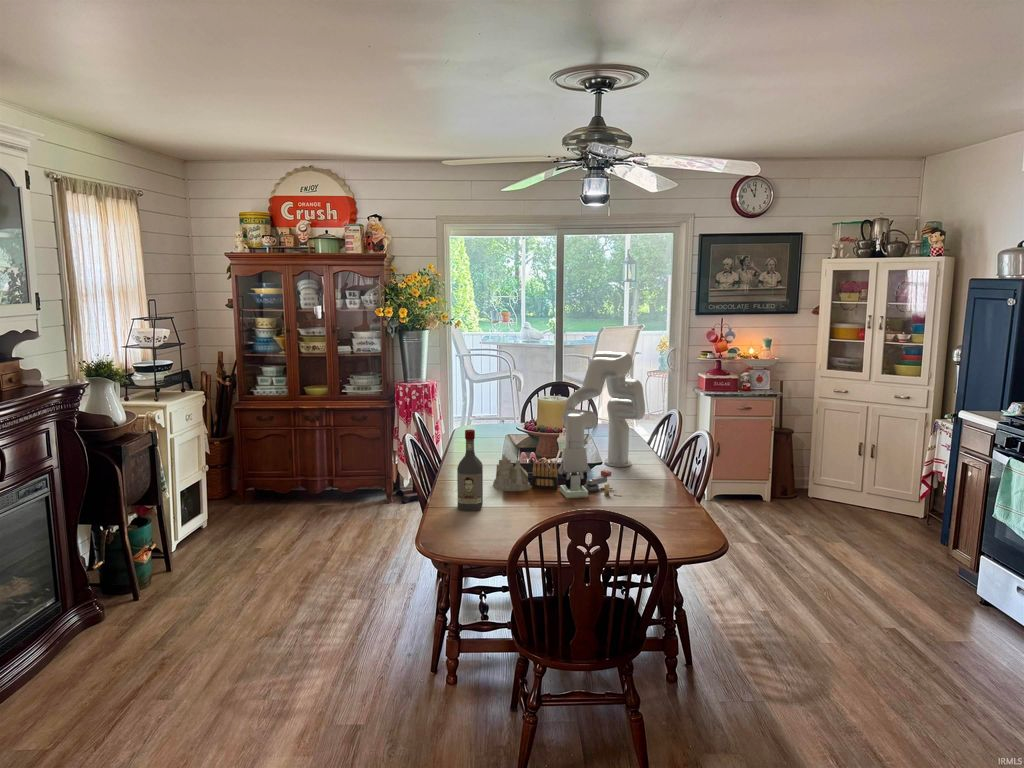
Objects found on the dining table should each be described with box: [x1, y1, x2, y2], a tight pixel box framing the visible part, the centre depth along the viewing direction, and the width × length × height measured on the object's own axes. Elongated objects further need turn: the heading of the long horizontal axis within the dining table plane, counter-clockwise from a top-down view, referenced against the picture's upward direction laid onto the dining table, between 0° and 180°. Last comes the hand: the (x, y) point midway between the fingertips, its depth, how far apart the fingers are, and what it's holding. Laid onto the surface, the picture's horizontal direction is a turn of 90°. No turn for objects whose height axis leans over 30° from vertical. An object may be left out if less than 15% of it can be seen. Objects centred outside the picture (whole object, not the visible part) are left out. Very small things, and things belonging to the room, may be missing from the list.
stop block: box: [569, 472, 580, 492], centre depth 276 cm, size 4×4×7 cm
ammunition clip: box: [531, 459, 559, 490], centre depth 284 cm, size 11×2×12 cm, turn 79°
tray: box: [559, 484, 589, 499], centre depth 277 cm, size 10×9×2 cm
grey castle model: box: [492, 454, 531, 492], centre depth 287 cm, size 16×16×15 cm
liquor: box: [456, 429, 484, 512], centre depth 258 cm, size 9×9×30 cm
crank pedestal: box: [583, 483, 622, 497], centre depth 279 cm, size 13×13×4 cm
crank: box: [585, 469, 612, 487], centre depth 284 cm, size 12×4×4 cm, turn 131°
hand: (573, 487), depth 276 cm, fingers closed on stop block, 4 cm apart
